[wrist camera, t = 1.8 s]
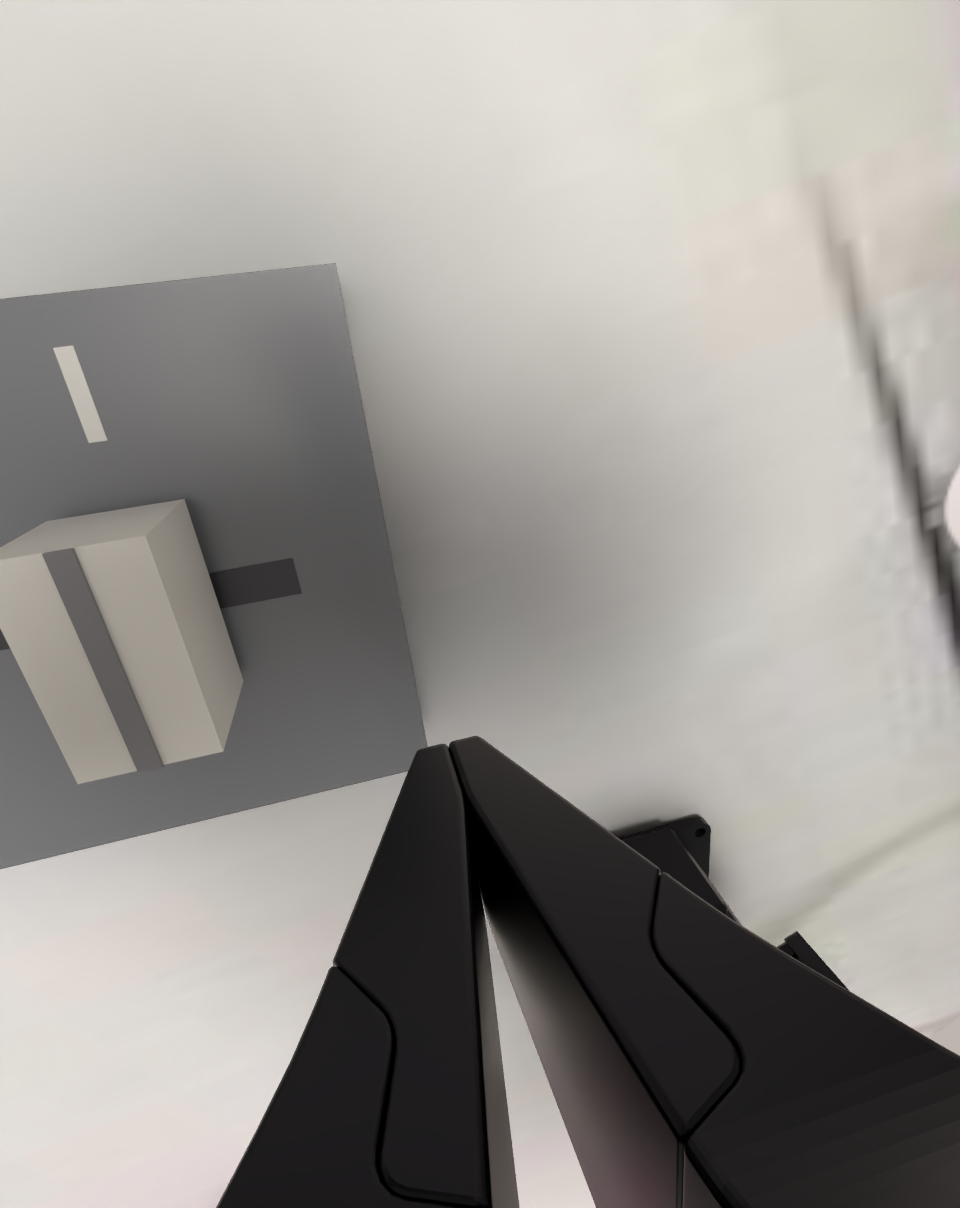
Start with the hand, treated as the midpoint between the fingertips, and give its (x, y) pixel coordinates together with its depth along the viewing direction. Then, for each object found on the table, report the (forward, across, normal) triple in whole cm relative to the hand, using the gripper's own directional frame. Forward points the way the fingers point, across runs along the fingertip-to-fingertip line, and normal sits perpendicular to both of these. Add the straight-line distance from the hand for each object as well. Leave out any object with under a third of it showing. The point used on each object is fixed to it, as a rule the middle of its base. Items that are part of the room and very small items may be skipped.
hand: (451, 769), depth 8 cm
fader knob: (+9, +6, 0) cm, 10 cm away
